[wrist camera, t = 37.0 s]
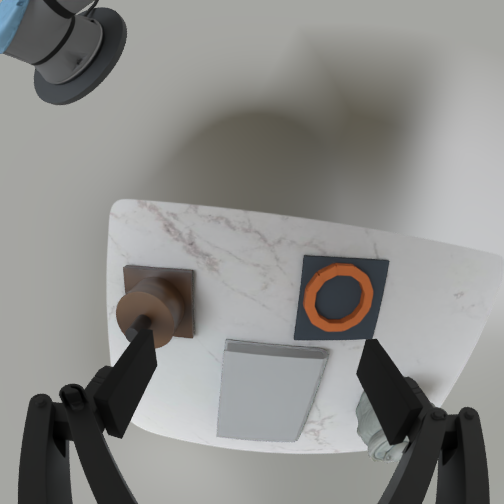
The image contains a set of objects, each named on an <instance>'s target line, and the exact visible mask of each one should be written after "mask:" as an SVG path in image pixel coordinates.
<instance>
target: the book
mask: <svg viewBox="0 0 504 504" xmlns="http://www.w3.org/2000/svg"><path fill="white" fill-rule="evenodd" d="M328 356H329V354H328V352H327V351H325V350H323V349H321V348H314V347H299V346H286V345H274V344H264V343H254V342H245V341H237V340H229V339H226V345H225V350H224V356H223V367H222V377H221V388H220V399H219V411H218V423H217V435H216V437H223V438H232V439H241V440H253V441H269V442H295V441H297V440H298V439H299V437H300V434H301V432H302V430H303V427H304V424H305V422H306V419H307V417H308V414H309V412H310V409H311V406H312V403H313V401H314V398H315V395H316V392H317V389H318V387H319V384H320V381H321V378H322V375H323V372H324V369H325V366H326V362H327V359H328Z"/></svg>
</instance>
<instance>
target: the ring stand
mask: <svg viewBox="0 0 504 504" xmlns="http://www.w3.org/2000/svg"><path fill="white" fill-rule="evenodd" d="M123 272H124V283H125V294H126V295H124V296H123V297H122V298H121V300H120V301H119V303H118V305H117V309H116V318H117V322H118V325H119V327H120V329H121V331H122V332H123V333H124V335H125V336H126V338H127V340H128V341H129V342H132V340H133V339H134V338H135V336H136V335H137V333H138V332H139V331H140V329H141V328H143V329H151V330H153V337H154V345H155V348H159V347H162V346H164V345H166V344H167V343H168V342H169V341H170V340H171V339H172V337H173V336H176V337H184V338H193V336H194V308H193V270H182V269H169V268H155V267H143V266H131V265H126V266H125V267H123Z"/></svg>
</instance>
